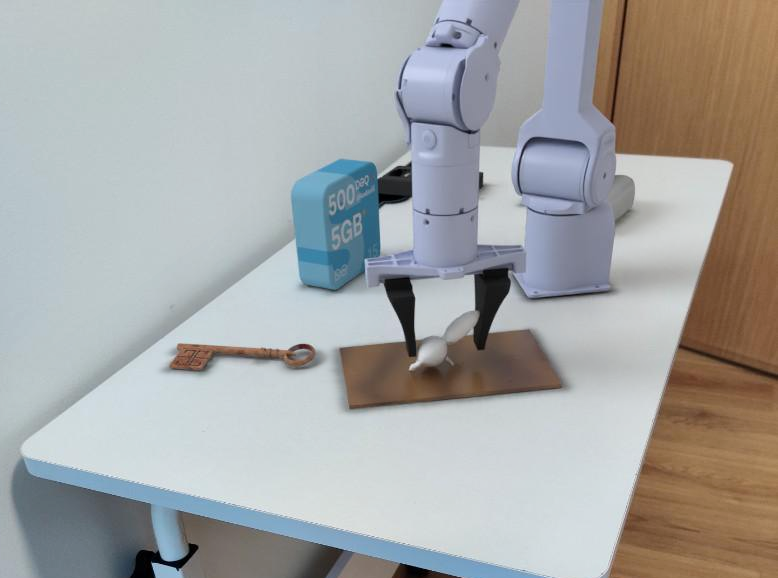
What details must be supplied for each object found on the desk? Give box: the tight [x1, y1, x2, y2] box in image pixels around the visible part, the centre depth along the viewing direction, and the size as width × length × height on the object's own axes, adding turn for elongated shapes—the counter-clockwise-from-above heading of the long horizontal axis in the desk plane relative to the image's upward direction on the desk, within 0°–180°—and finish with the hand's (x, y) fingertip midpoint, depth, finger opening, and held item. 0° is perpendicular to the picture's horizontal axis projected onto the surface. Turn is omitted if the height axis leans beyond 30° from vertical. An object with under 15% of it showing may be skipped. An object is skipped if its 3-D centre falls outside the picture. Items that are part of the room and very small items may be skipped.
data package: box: [290, 158, 382, 291], centre depth 99 cm, size 12×4×12 cm, turn 150°
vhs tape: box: [377, 165, 484, 197], centre depth 126 cm, size 14×8×2 cm, turn 65°
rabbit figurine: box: [409, 309, 480, 371], centre depth 81 cm, size 6×4×8 cm
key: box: [168, 342, 316, 371], centre depth 86 cm, size 6×1×15 cm
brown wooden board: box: [338, 328, 563, 410], centre depth 82 cm, size 20×12×1 cm, turn 96°
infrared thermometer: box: [604, 174, 636, 221], centre depth 114 cm, size 5×12×15 cm
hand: (444, 349), depth 81 cm, fingers closed on rabbit figurine, 6 cm apart
